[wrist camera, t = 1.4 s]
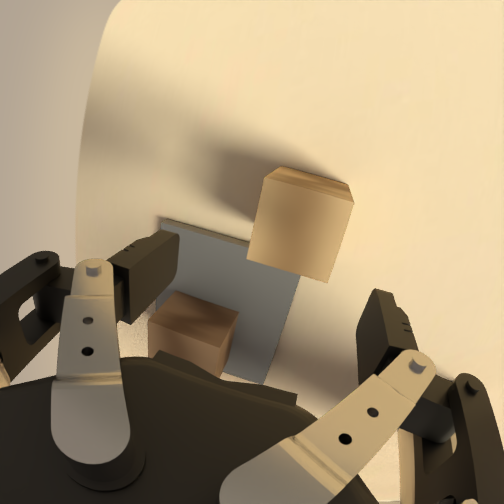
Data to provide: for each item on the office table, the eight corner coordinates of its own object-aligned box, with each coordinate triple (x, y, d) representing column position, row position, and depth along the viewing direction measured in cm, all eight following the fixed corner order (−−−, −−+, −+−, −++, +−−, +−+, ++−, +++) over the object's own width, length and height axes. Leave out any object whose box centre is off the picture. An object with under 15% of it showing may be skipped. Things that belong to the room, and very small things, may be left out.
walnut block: (239, 311, 26) (219, 348, 21) (228, 359, 28) (210, 395, 24) (175, 290, 27) (147, 320, 22) (172, 338, 29) (148, 370, 25)
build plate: (305, 259, 24) (304, 264, 23) (265, 378, 30) (262, 384, 29) (166, 218, 25) (161, 222, 25) (159, 340, 31) (155, 345, 30)
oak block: (348, 184, 21) (354, 202, 15) (329, 246, 23) (327, 283, 18) (281, 165, 22) (264, 177, 16) (266, 228, 24) (246, 258, 18)
